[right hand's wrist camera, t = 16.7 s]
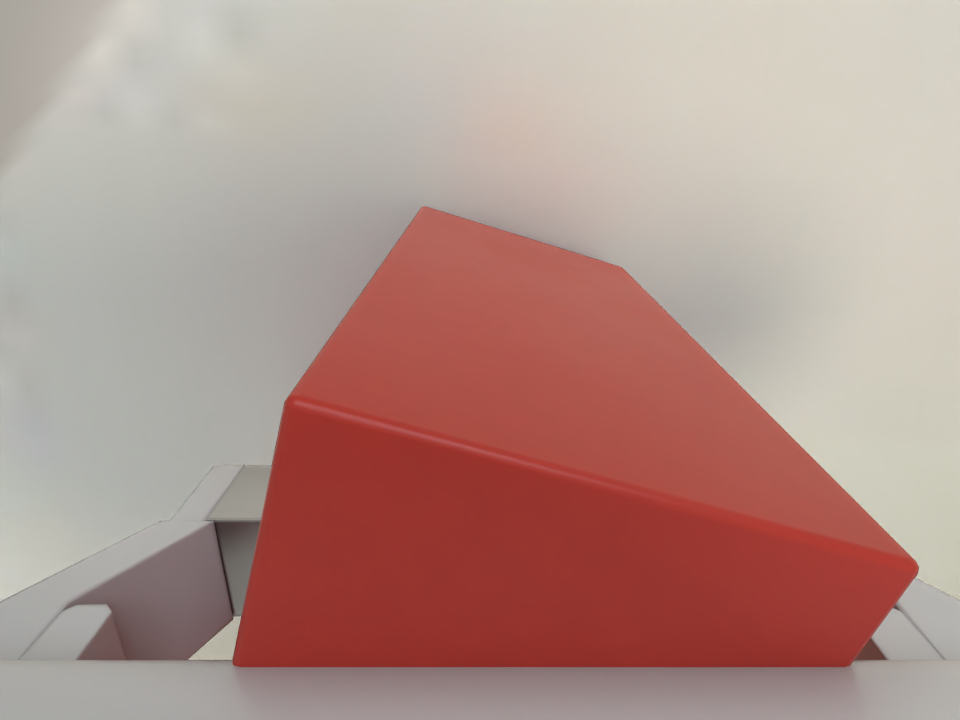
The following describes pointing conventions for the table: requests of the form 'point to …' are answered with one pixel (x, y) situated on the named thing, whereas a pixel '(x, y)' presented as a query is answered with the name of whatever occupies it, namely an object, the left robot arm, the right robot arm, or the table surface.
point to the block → (545, 485)
